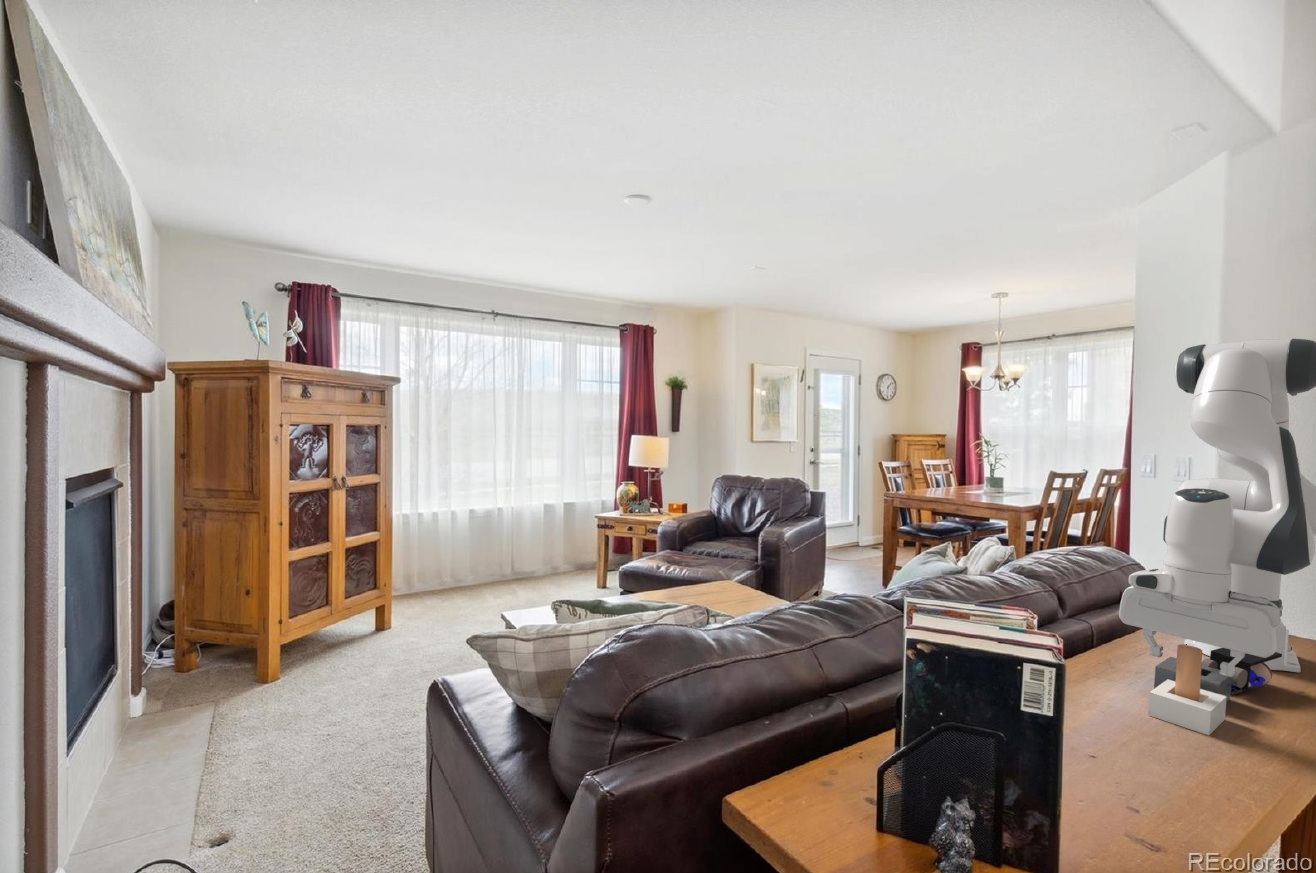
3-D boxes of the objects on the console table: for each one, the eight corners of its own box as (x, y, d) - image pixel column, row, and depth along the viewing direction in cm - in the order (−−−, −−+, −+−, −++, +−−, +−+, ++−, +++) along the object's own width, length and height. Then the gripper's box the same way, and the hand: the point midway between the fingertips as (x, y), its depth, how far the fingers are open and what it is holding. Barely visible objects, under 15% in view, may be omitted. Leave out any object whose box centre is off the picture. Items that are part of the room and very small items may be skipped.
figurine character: (1241, 708, 114) (1283, 687, 120) (1241, 668, 113) (1284, 649, 119) (1196, 692, 120) (1239, 674, 126) (1197, 654, 119) (1239, 637, 125)
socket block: (1166, 701, 112) (1167, 679, 112) (1224, 719, 106) (1226, 696, 105) (1147, 715, 106) (1149, 692, 106) (1208, 735, 100) (1210, 711, 99)
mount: (1168, 681, 121) (1170, 656, 121) (1230, 700, 114) (1232, 673, 113) (1153, 692, 115) (1155, 666, 115) (1217, 712, 108) (1219, 684, 108)
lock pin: (1176, 711, 108) (1180, 643, 108) (1200, 718, 105) (1204, 649, 105) (1171, 715, 106) (1175, 646, 106) (1195, 723, 104) (1199, 652, 103)
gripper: (1285, 598, 99) (1279, 683, 99) (1130, 569, 115) (1125, 642, 115) (1277, 603, 95) (1270, 692, 95) (1118, 573, 111) (1113, 649, 112)
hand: (1190, 665), depth 105 cm, fingers open, 8 cm apart
